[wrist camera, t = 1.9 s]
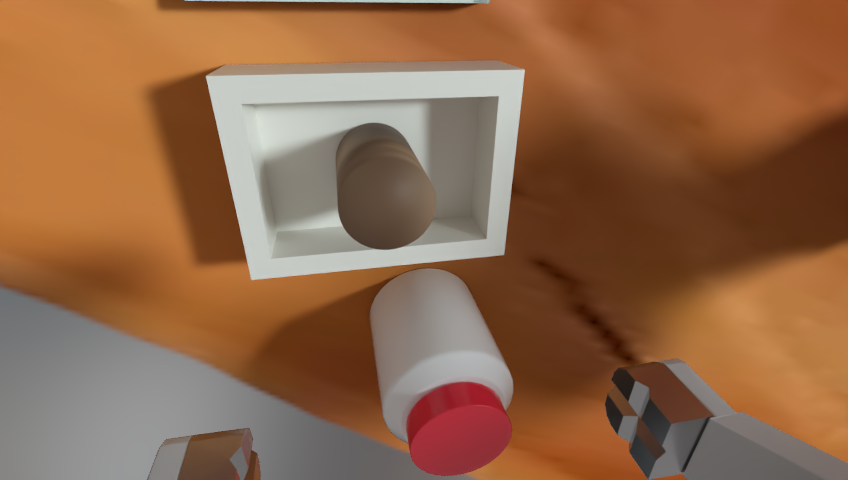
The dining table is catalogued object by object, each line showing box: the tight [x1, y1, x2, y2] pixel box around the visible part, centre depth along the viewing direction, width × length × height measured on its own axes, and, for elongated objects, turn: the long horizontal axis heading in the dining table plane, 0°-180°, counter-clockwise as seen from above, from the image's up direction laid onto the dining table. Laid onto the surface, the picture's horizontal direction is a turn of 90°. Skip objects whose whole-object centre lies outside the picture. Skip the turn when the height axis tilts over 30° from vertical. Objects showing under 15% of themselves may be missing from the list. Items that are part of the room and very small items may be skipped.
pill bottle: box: [370, 268, 514, 476], centre depth 27 cm, size 8×8×11 cm
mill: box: [335, 123, 436, 250], centre depth 22 cm, size 4×4×6 cm
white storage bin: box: [206, 60, 525, 280], centre depth 24 cm, size 14×10×4 cm
